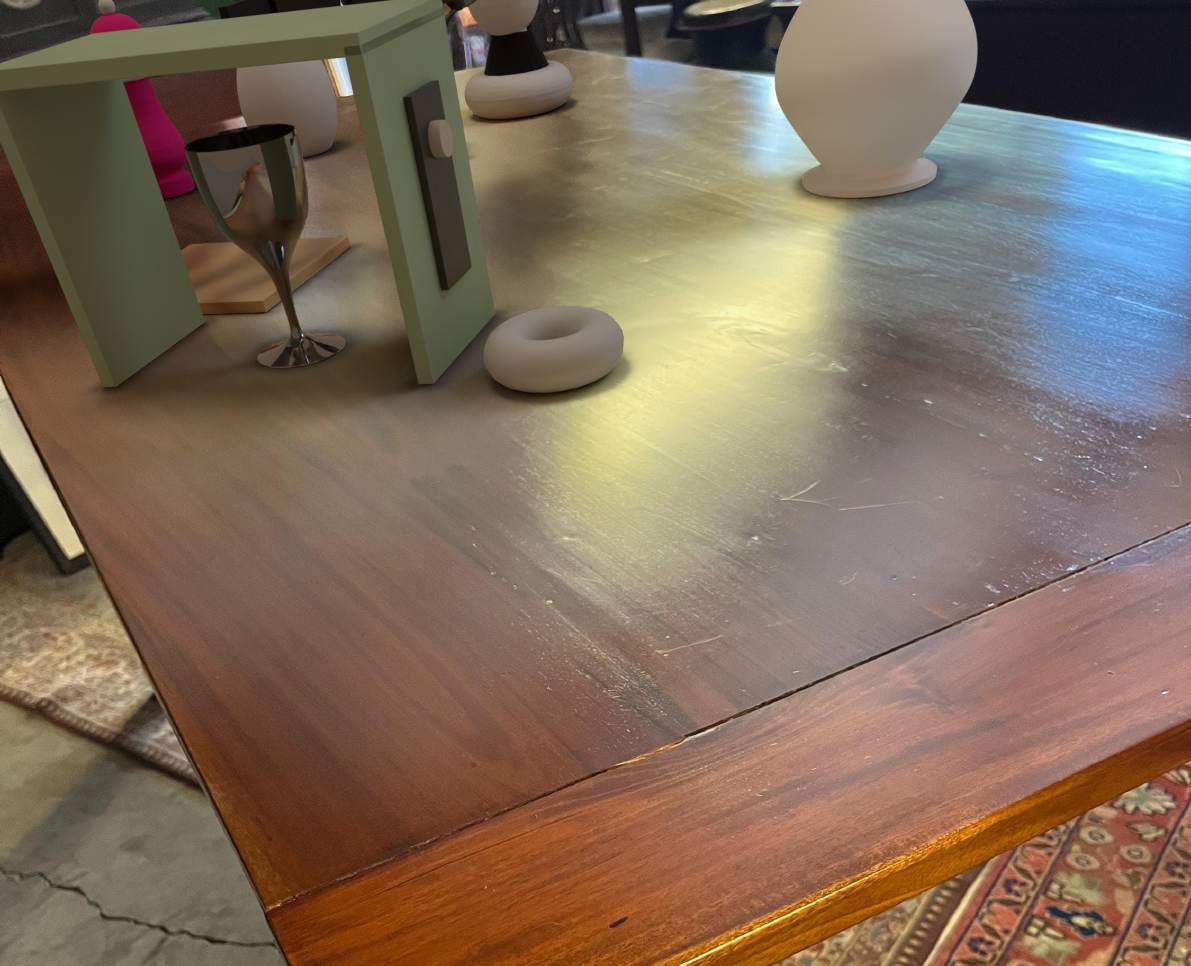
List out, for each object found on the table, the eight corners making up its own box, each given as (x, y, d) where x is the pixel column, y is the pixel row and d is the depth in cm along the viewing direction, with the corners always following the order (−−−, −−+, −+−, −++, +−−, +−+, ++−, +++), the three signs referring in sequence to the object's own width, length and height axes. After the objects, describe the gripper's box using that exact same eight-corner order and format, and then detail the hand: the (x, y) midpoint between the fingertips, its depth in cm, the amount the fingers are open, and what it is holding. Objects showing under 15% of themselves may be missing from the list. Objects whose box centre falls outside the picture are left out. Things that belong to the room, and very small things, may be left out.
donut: (469, 371, 81) (517, 413, 73) (460, 323, 78) (508, 361, 71) (592, 337, 83) (650, 374, 76) (587, 289, 81) (646, 322, 73)
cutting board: (94, 317, 101) (89, 306, 100) (194, 254, 113) (191, 243, 113) (266, 312, 96) (262, 300, 95) (350, 246, 109) (348, 236, 108)
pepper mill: (175, 200, 133) (107, -1, 120) (128, 201, 135) (57, 5, 122) (210, 183, 138) (149, -12, 124) (164, 185, 140) (99, -6, 127)
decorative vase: (812, 218, 98) (819, -148, 81) (751, 174, 111) (746, -148, 95) (999, 183, 99) (1043, -183, 83) (917, 144, 113) (941, -178, 96)
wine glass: (350, 325, 91) (297, 117, 81) (351, 358, 85) (293, 139, 75) (255, 342, 90) (190, 135, 80) (249, 377, 84) (177, 158, 74)
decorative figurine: (586, 93, 153) (567, -89, 140) (560, 118, 143) (537, -76, 130) (486, 102, 157) (458, -75, 144) (453, 126, 147) (421, -61, 133)
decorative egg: (359, 137, 149) (329, 2, 139) (327, 160, 140) (293, 18, 130) (276, 144, 151) (241, 13, 141) (240, 168, 143) (200, 29, 133)
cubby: (103, 387, 87) (-30, 72, 72) (193, 322, 96) (92, 33, 82) (452, 384, 79) (380, 29, 64) (512, 313, 88) (461, -8, 74)
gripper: (545, 13, 98) (465, 62, 83) (298, 40, 105) (183, 89, 90) (532, -94, 93) (444, -63, 78) (274, -58, 100) (148, -24, 85)
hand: (305, 19), depth 84 cm, fingers open, 13 cm apart
